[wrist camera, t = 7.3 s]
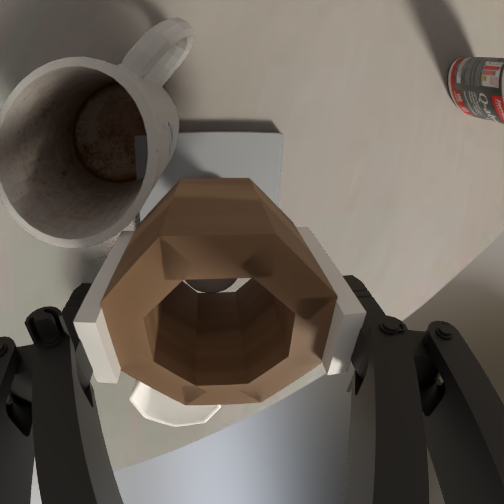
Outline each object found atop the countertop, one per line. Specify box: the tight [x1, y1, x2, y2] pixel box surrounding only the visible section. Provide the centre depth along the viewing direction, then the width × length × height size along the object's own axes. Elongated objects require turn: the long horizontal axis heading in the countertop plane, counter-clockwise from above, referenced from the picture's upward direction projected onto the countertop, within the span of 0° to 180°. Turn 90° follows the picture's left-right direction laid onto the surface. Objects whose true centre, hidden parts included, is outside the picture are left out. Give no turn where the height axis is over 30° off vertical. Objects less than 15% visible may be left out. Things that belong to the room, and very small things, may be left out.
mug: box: [0, 18, 194, 248], centre depth 15 cm, size 12×9×10 cm
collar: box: [100, 178, 338, 405], centre depth 12 cm, size 7×7×6 cm
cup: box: [129, 379, 221, 427], centre depth 24 cm, size 7×10×8 cm
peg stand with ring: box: [135, 131, 284, 293], centre depth 18 cm, size 10×10×10 cm
